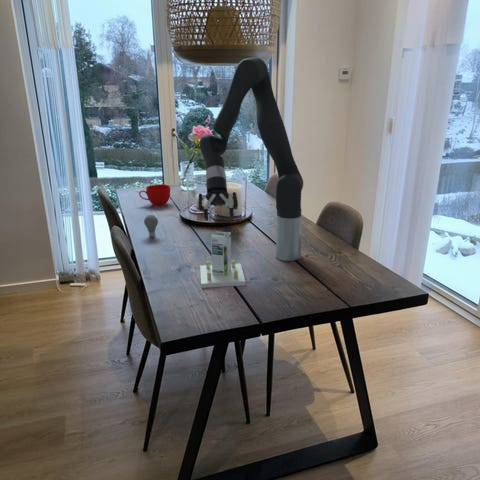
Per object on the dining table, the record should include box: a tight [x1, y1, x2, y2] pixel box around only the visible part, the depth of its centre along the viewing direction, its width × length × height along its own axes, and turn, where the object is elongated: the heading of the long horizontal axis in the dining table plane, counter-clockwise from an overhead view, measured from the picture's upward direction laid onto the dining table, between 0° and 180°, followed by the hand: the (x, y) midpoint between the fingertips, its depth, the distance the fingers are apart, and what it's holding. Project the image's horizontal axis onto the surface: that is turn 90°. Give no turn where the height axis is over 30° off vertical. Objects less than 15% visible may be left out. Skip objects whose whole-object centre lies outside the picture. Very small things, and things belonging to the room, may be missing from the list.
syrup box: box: [210, 230, 232, 276], centre depth 153 cm, size 6×6×14 cm
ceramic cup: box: [138, 183, 171, 207], centre depth 239 cm, size 13×17×10 cm
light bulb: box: [143, 214, 159, 238], centre depth 193 cm, size 6×6×10 cm
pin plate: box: [199, 259, 246, 289], centre depth 155 cm, size 15×15×4 cm
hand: (219, 219), depth 156 cm, fingers open, 8 cm apart
